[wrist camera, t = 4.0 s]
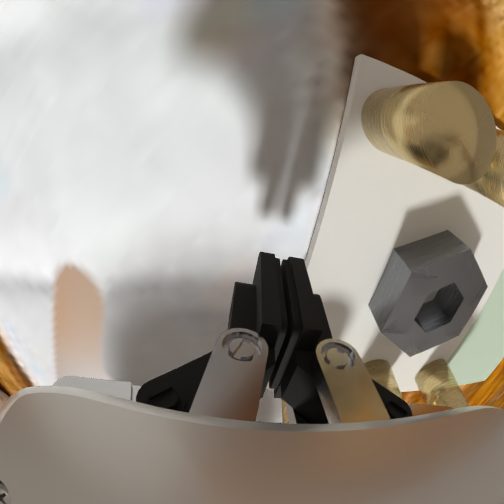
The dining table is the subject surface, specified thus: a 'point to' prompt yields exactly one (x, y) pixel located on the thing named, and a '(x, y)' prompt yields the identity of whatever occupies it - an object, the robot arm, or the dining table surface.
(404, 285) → the nut
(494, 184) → the spacers
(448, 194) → the mat
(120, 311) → the dining table surface
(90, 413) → the robot arm
